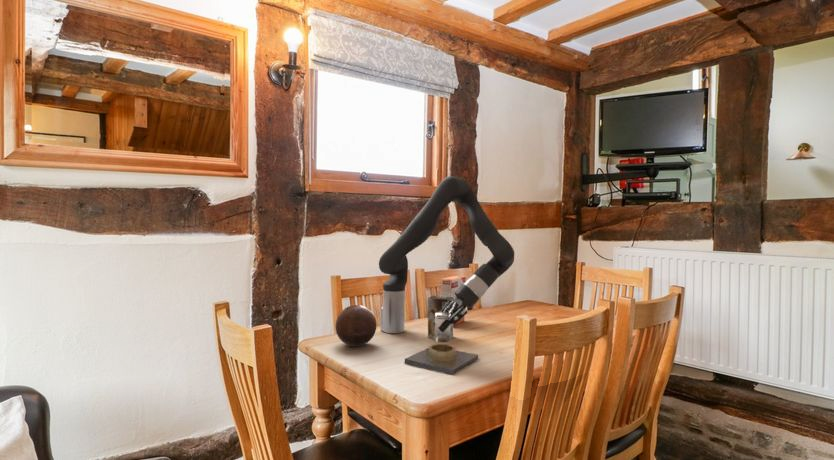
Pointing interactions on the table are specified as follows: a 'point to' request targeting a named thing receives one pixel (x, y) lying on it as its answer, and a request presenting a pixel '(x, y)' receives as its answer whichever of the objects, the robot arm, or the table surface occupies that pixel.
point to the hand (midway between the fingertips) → (437, 328)
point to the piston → (439, 335)
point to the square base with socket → (442, 359)
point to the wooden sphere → (355, 325)
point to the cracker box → (452, 288)
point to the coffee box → (435, 306)
